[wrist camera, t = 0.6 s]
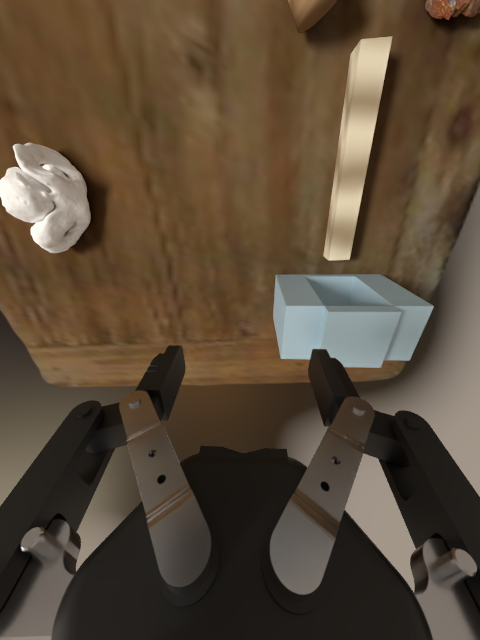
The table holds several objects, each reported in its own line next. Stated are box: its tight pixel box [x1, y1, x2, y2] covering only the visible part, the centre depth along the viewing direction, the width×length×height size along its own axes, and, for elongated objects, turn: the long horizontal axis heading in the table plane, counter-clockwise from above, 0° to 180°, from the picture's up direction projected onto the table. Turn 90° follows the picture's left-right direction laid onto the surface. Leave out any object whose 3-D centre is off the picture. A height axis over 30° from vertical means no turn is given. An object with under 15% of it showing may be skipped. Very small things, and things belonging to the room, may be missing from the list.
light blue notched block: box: [273, 274, 434, 368], centre depth 32 cm, size 8×17×14 cm, turn 91°
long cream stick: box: [324, 37, 392, 261], centre depth 29 cm, size 22×3×3 cm, turn 3°
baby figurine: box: [0, 143, 91, 253], centre depth 30 cm, size 9×13×9 cm
